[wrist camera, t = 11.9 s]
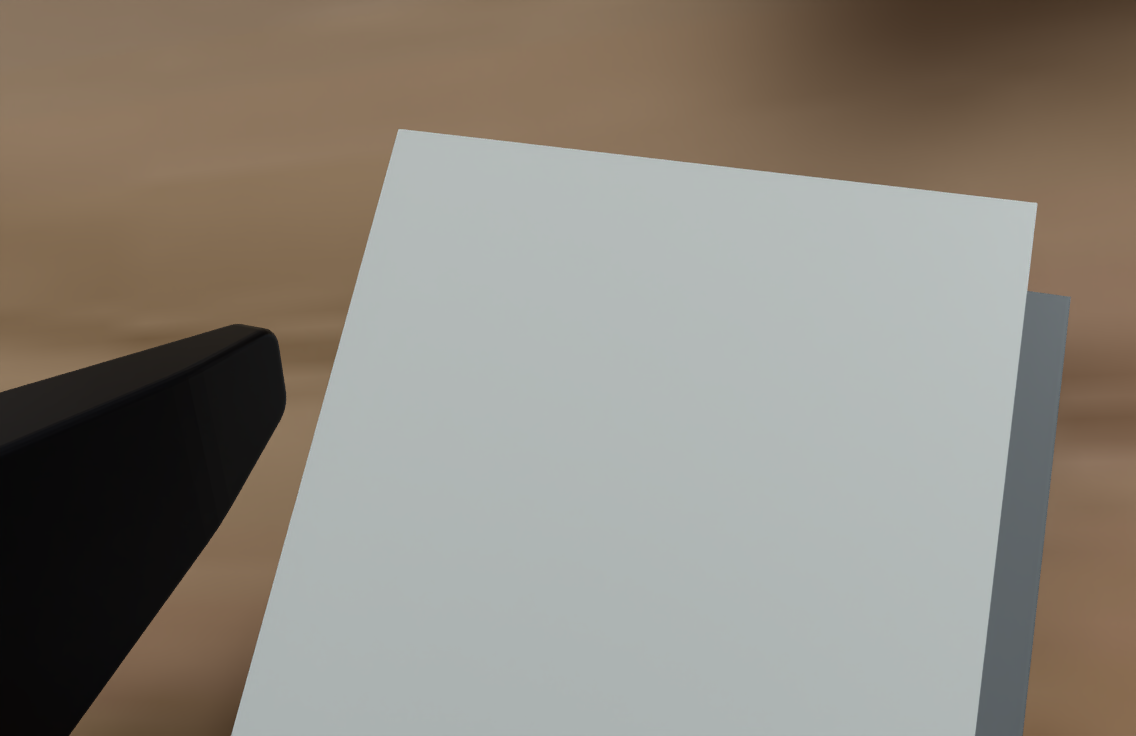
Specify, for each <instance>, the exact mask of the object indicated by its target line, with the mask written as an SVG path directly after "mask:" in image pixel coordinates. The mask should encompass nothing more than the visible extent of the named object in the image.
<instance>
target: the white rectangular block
mask: <svg viewBox="0 0 1136 736" xmlns="http://www.w3.org/2000/svg"><path fill="white" fill-rule="evenodd" d="M1036 210H1037V203H1032V202H1023V201H1015V200H1006V199H997V198H989V197H980V196H972V195H963V194H954V193H946V192H937V191H928V190H920V189H911V188H903V187H894V186H885V185H877V184H868V183H860V182H851V181H842V180H834V179H825V178H817V177H808V176H799V175H791V174H782V173H774V172H765V171H756V170H748V169H739V168H731V167H722V166H713V165H705V164H696V163H688V162H679V161H670V160H662V159H653V158H645V157H636V156H627V155H619V154H610V153H602V152H593V151H584V150H576V149H567V148H559V147H550V146H541V145H533V144H524V143H515V142H507V141H498V140H490V139H481V138H472V137H464V136H455V135H447V134H438V133H429V132H421V131H412V130H404V129H399V130H398V133H397V137H396V140H395V144H394V148H393V151H392V155H391V159H390V162H389V166H388V169H387V173H386V177H385V180H384V184H383V188H382V191H381V195H380V198H379V202H378V206H377V209H376V213H375V217H374V220H373V224H372V227H371V231H370V235H369V238H368V242H367V245H366V249H365V253H364V256H363V260H362V264H361V267H360V271H359V274H358V278H357V282H356V285H355V289H354V293H353V296H352V300H351V303H350V307H349V311H348V314H347V318H346V322H345V325H344V329H343V332H342V336H341V340H340V343H339V347H338V351H337V354H336V358H335V361H334V365H333V369H332V372H331V376H330V380H329V383H328V387H327V390H326V394H325V398H324V401H323V405H322V408H321V412H320V416H319V419H318V423H317V427H316V430H315V434H314V437H313V441H312V445H311V448H310V452H309V456H308V459H307V463H306V466H305V470H304V474H303V477H302V481H301V485H300V488H299V492H298V495H297V499H296V503H295V506H294V510H293V514H292V517H291V521H290V524H289V528H288V532H287V535H286V539H285V543H284V546H283V550H282V553H281V557H280V561H279V564H278V568H277V572H276V575H275V579H274V582H273V586H272V590H271V593H270V597H269V600H268V604H267V608H266V611H265V615H264V619H263V622H262V626H261V629H260V633H259V637H258V640H257V644H256V648H255V651H254V655H253V658H252V662H251V666H250V669H249V673H248V677H247V680H246V684H245V687H244V691H243V695H242V698H241V702H240V706H239V709H238V713H237V716H236V720H235V724H234V727H233V731H232V735H231V736H975V731H976V723H977V714H978V706H979V697H980V689H981V680H982V671H983V663H984V654H985V646H986V637H987V629H988V620H989V612H990V603H991V595H992V586H993V578H994V569H995V560H996V552H997V543H998V535H999V526H1000V518H1001V509H1002V501H1003V492H1004V484H1005V475H1006V467H1007V458H1008V449H1009V441H1010V432H1011V424H1012V415H1013V407H1014V398H1015V390H1016V381H1017V373H1018V364H1019V355H1020V347H1021V338H1022V330H1023V321H1024V313H1025V304H1026V296H1027V287H1028V279H1029V270H1030V262H1031V253H1032V244H1033V236H1034V227H1035V219H1036Z"/></svg>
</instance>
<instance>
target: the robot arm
mask: <svg viewBox="0 0 1136 736" xmlns="http://www.w3.org/2000/svg"><path fill="white" fill-rule="evenodd" d="M285 405H286V390H285V383H284V376H283V370H282V363H281V357H280V350H279V345H278V340H277V338H276V336H275V335H274V333H272V332H271V331H270V330H268V329H265V328H260V327H254V326H248V325H243V324H234V325H229V326H226V327H223V328H219V329H216V330H212V331H209V332H205V333H202V334H199V335H195V336H192V337H188V338H185V339H181V340H178V341H175V342H171V343H168V344H164V345H161V346H158V347H154V348H151V349H147V350H144V351H140V352H137V353H134V354H130V355H127V356H123V357H120V358H116V359H113V360H110V361H106V362H103V363H99V364H96V365H92V366H89V367H86V368H82V369H79V370H75V371H72V372H68V373H65V374H62V375H58V376H55V377H51V378H48V379H45V380H41V381H38V382H34V383H31V384H27V385H24V386H21V387H17V388H14V389H10V390H7V391H3V392H0V736H69V735H70V734H71V732H72V731H73V729H74V728H75V727H76V725H77V724H78V722H79V721H80V720H81V718H82V717H83V716H84V714H85V713H86V711H87V710H88V709H89V707H90V706H91V704H92V703H93V702H94V700H95V699H96V698H97V696H98V695H99V693H100V692H101V691H102V689H103V688H104V686H105V685H106V684H107V682H108V681H109V679H110V678H111V677H112V675H113V674H114V673H115V671H116V670H117V668H118V667H119V666H120V664H121V663H122V661H123V660H124V659H125V657H126V656H127V655H128V653H129V652H130V650H131V649H132V648H133V646H134V645H135V643H136V642H137V641H138V639H139V638H140V636H141V635H142V634H143V632H144V631H145V630H146V628H147V627H148V625H149V624H150V623H151V621H152V620H153V618H154V617H155V616H156V614H157V613H158V612H159V610H160V609H161V607H162V606H163V605H164V603H165V602H166V600H167V599H168V598H169V596H170V595H171V593H172V592H173V591H174V589H175V588H176V587H177V585H178V584H179V582H180V581H181V580H182V578H183V577H184V575H185V574H186V573H187V571H188V570H189V569H190V567H191V566H192V564H193V563H194V562H195V560H196V559H197V557H198V556H199V555H200V553H201V552H202V551H203V549H204V548H205V546H206V545H207V544H208V542H209V541H210V539H211V538H212V536H213V535H214V533H215V532H216V530H217V529H218V527H219V526H220V524H221V523H222V521H223V519H224V518H225V516H226V514H227V513H228V511H229V510H230V508H231V506H232V504H233V503H234V501H235V499H236V497H237V496H238V494H239V492H240V490H241V489H242V487H243V485H244V483H245V482H246V480H247V478H248V476H249V475H250V473H251V471H252V469H253V467H254V466H255V464H256V462H257V460H258V459H259V457H260V455H261V453H262V452H263V450H264V448H265V446H266V445H267V443H268V441H269V439H270V437H271V436H272V434H273V432H274V430H275V429H276V427H277V425H278V423H279V422H280V420H281V418H282V416H283V413H284V410H285Z"/></svg>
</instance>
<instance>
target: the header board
mask: <svg viewBox="0 0 1136 736" xmlns="http://www.w3.org/2000/svg"><path fill="white" fill-rule="evenodd" d="M1070 298H1071V297H1067V296H1059V295H1052V294H1045V293H1038V292H1030V291H1027V296H1026V304H1025V313H1024V321H1023V330H1022V338H1021V347H1020V355H1019V364H1018V373H1017V381H1016V390H1015V398H1014V407H1013V415H1012V424H1011V432H1010V441H1009V449H1008V458H1007V467H1006V475H1005V484H1004V492H1003V501H1002V509H1001V518H1000V526H999V535H998V543H997V552H996V560H995V569H994V578H993V586H992V595H991V603H990V612H989V620H988V629H987V637H986V646H985V654H984V663H983V671H982V680H981V689H980V697H979V706H978V714H977V723H976V731H975V736H1023V727H1024V718H1025V708H1026V699H1027V690H1028V681H1029V672H1030V663H1031V654H1032V645H1033V635H1034V626H1035V617H1036V608H1037V599H1038V590H1039V581H1040V572H1041V563H1042V553H1043V544H1044V535H1045V526H1046V517H1047V508H1048V499H1049V490H1050V481H1051V471H1052V462H1053V453H1054V444H1055V435H1056V426H1057V417H1058V408H1059V398H1060V389H1061V380H1062V371H1063V362H1064V353H1065V344H1066V335H1067V326H1068V316H1069V307H1070Z"/></svg>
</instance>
